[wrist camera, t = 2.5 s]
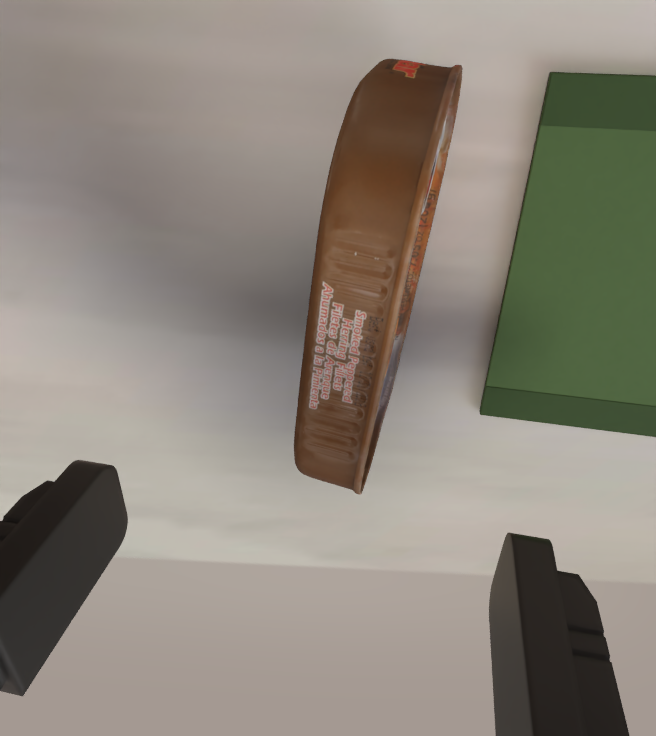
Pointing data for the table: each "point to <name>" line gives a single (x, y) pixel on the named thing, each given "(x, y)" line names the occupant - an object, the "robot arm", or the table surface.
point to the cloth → (584, 264)
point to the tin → (370, 261)
